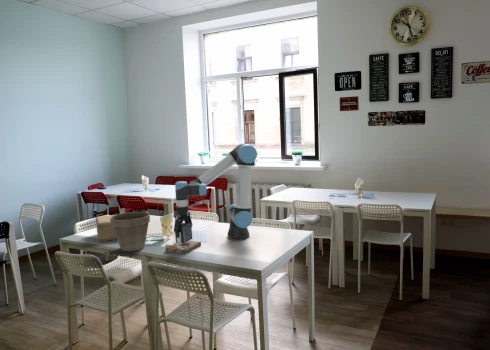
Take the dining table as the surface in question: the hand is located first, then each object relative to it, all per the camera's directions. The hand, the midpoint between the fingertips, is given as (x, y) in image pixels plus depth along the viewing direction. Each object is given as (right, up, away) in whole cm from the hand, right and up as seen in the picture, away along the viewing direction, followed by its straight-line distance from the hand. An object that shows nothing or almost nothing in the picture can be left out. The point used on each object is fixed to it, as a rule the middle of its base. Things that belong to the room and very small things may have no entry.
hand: (184, 239), depth 265 cm
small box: (0, -1, 0) cm, 1 cm away
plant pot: (-34, -6, +5) cm, 35 cm away
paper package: (-55, -3, +38) cm, 67 cm away
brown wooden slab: (0, -5, 0) cm, 5 cm away
